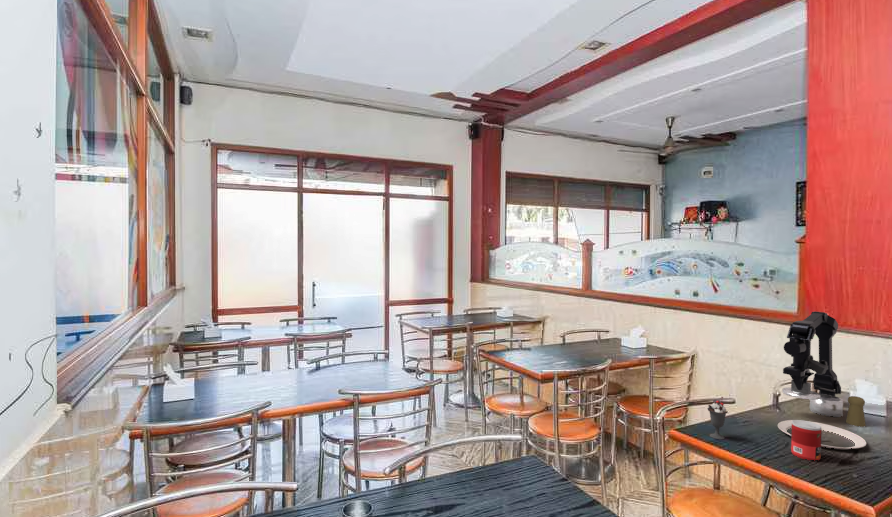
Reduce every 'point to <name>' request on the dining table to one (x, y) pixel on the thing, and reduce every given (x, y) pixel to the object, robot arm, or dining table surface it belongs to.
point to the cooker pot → (827, 405)
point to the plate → (855, 438)
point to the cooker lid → (801, 391)
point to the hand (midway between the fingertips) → (800, 389)
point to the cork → (856, 411)
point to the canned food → (806, 440)
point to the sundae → (717, 418)
